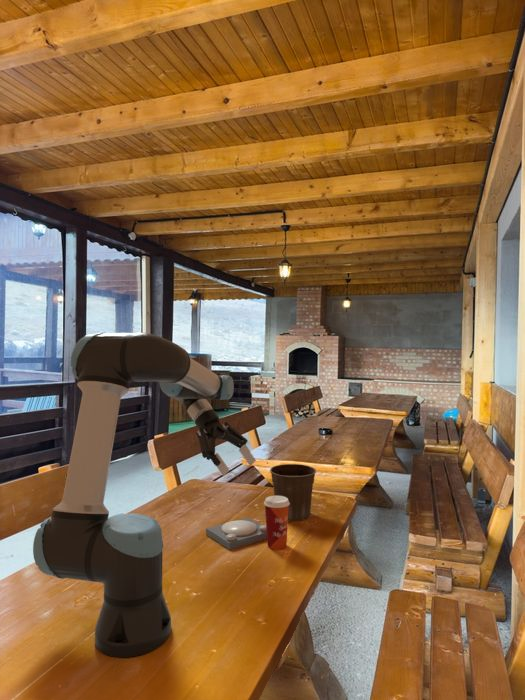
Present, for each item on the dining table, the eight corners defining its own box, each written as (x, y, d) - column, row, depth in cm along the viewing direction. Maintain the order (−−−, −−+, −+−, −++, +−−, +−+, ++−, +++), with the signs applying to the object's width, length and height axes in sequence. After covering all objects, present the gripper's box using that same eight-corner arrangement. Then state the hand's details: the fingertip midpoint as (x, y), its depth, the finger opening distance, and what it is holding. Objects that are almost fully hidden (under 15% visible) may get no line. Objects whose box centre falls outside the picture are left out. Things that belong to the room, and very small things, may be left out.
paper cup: (280, 553, 134) (279, 505, 134) (258, 547, 139) (258, 499, 139) (295, 544, 140) (295, 497, 140) (274, 538, 145) (274, 493, 145)
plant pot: (318, 524, 157) (318, 475, 157) (270, 524, 157) (269, 475, 157) (314, 507, 173) (313, 463, 173) (270, 507, 173) (270, 463, 173)
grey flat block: (229, 549, 137) (229, 539, 137) (206, 534, 148) (206, 525, 148) (273, 536, 146) (273, 527, 146) (248, 523, 158) (248, 514, 158)
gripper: (222, 417, 167) (256, 466, 158) (170, 429, 146) (207, 485, 138) (233, 403, 163) (269, 452, 155) (182, 413, 143) (220, 469, 135)
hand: (240, 467), depth 147 cm, fingers open, 13 cm apart
